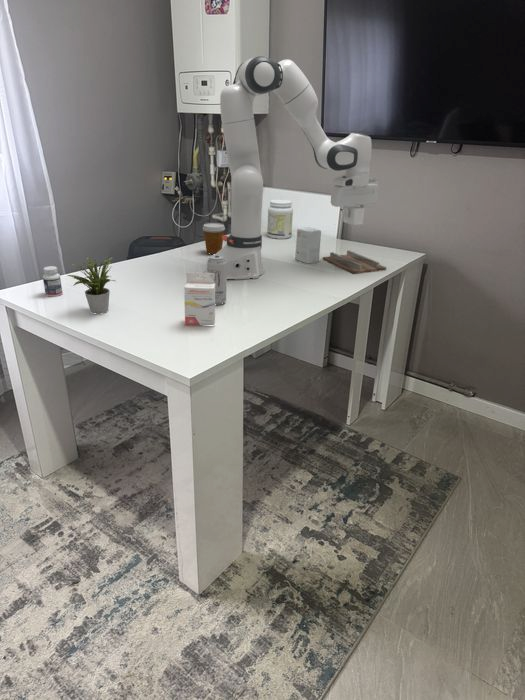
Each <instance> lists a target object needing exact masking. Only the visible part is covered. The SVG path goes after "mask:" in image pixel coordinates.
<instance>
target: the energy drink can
mask: <svg viewBox="0 0 525 700" xmlns="http://www.w3.org/2000/svg"><path fill="white" fill-rule="evenodd" d="M206 268H207V273H214V275H215V277H214V282H215V304H222V303H224V302H226V301H227V280H226V261H225V259H224V256H222V255H209V256H208V259H207V260H206ZM224 304H225V303H224ZM222 305H223V304H222Z"/></svg>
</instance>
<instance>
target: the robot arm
mask: <svg viewBox="0 0 525 700" xmlns="http://www.w3.org/2000/svg"><path fill="white" fill-rule="evenodd" d="M270 92H273V93H274V94H275V95H276V96H277V97H278V98H279V100H280V102H281V103H282V106H284V108H285V109H286V111H287V113H289V115H290V116H291V117H292V118H293V119H294V120H295V122H296V123H297V124H298V126H299V127H300V128H301V131H302V132H303V133H304V135H305V137H306V138H307V141H308V142H309V144H310V145H311V147H312V151H313V156H314V160H315V163H316V165H318V167H320V168H321V169H324V170H325V169H326V170H329V171H334V172H340V171H344V170H345V173H343V174H341V175H340V176H338V177H336V178H334V179H333V181H332V182H333V185H334V186H333V187H332V189H331V194H330V204H331V205H332V207H335V208H338V207H339V208H340V207H342V210H343V215H344V213H345V215H344V217H345V218H350V213H349V212H348V209H349V206H353V205H354V206H359V207H361V208H365V209H366V208H367V205H376V204H378V202H379V194H380V193H379V185H380V184H379V183H380V182H379V181H378V179H376V178H370V171H371V169H370V163H371V160H372V144H373V143H372V138H371V136H370V135H368V134H365V133H361V132H360V133H359V132H356V131H355V132H351V133H350V134H348V136H346V137H345V138H343V139H341V140H337V141H336V142H335V141H333V140H331V139H330V138H328V137H329V136H327V135H326V133H325V131H324V129H323V128H322V126H321V124H320V123H319V121H318V119H317V110H318V107H319V100H318V99H319V98H318V96H317V93H316V91H315V89H314V88H313V85H312V84H311V82H310V81H309V80H308V78H307V77H306V74H304V72H303V71H302V70H301V69H300V67H298V65H297V64H296V63H295V62H294V61H293V60H291V59H282V60H280V61H278V62H276V61H275V60H273V59H270V58H269V57H267V56H261V55H258V56H255V57H250V58H248V59H246V60H245V61H243V62H242V63H241V64H240V65H239V66H238V67H237V70H236V71H235V76H234V79H233V82H232V84H230V85H227V86H225V87H224V88H223V89H222V90H221V92H220V98H219V102H220V104H219V105H220V117H221V119H220V120H221V125H222V132H223V137H224V143H225V149H226V154H227V159H228V165H229V171H230V176H231V177H230V178H231V180H230V188H231V189H230V191H231V192H230V193H231V194H230V197H231V198H230V200H231V201H230V202H231V203H230V205H231V207H230V209H231V210H230V211H231V212H230V213H231V214H230V215H231V217H230V219H231V221H230V222H231V224H230V225H231V228H230V234H229V235H226V234H224V235H223V236H222V239H223V242H226V244H225V246H222V249H221V250H220V251H218V252H217V253H216V254H215V255H222V256H224V259H225V261H226V281H228V280H227V279H235V280H250V278H253V279H258V278H260V276H261V275H263V274H264V273H265V270H264V267H263V261H262V247H263V240H262V239H263V235H262V214H263V213H262V212H263V211H262V210H263V196H264V195H263V194H264V193H263V192H264V178H263V175H262V167H261V161H260V152H259V144H258V136H257V129H256V122H255V116H254V111H253V106H254V105H253V104H254V101H255V98H256V96H263V95H264V94H268V93H270ZM204 269H205V270H204V273H207V267H205V268H204Z"/></svg>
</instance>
